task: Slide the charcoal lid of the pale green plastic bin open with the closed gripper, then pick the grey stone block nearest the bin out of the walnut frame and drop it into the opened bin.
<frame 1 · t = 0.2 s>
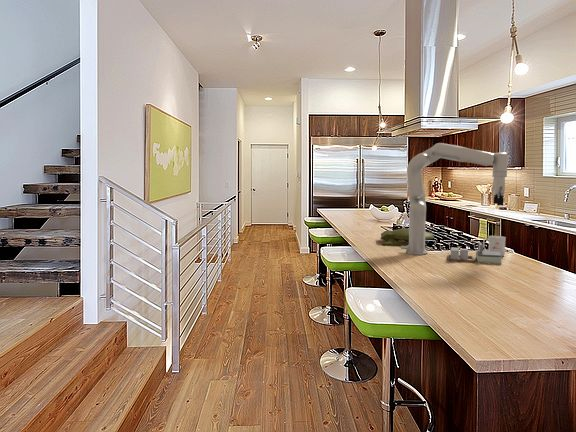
hand: (498, 204, 279), 31 cm above the table, tool pointing down, fingers open, 9 cm apart
tray: (460, 259, 276), on the table
bin: (488, 260, 272), on the table
bin lid: (488, 249, 271), point 7 cm above the table, slide at 0.0 cm
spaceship: (406, 243, 333), on the table
stone c: (454, 258, 279), resting in tray
stone a: (463, 259, 275), resting in tray
stone b: (454, 260, 274), resting in tray
mug: (493, 255, 288), on the table
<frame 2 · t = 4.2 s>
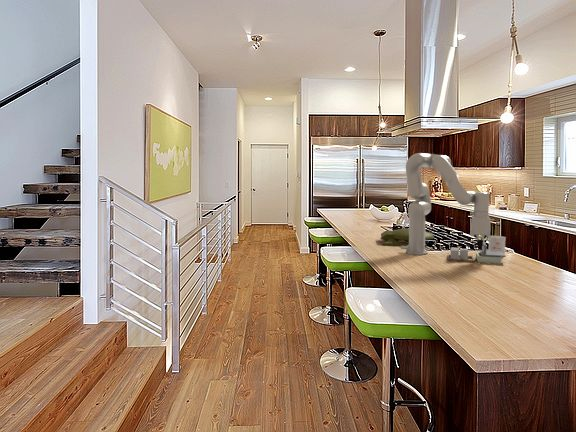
hand: (479, 246, 272), 8 cm above the table, tool pointing down, fingers closed
bin lid: (492, 249, 270), point 7 cm above the table, slide at 2.0 cm, touching gripper
everything else where it was.
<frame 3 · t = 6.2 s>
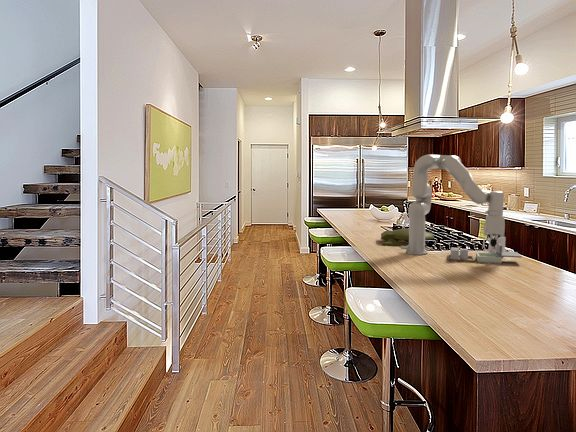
hand: (493, 246, 270), 8 cm above the table, tool pointing down, fingers closed
bin lid: (507, 249, 268), point 7 cm above the table, slide at 9.8 cm
everything else where it was.
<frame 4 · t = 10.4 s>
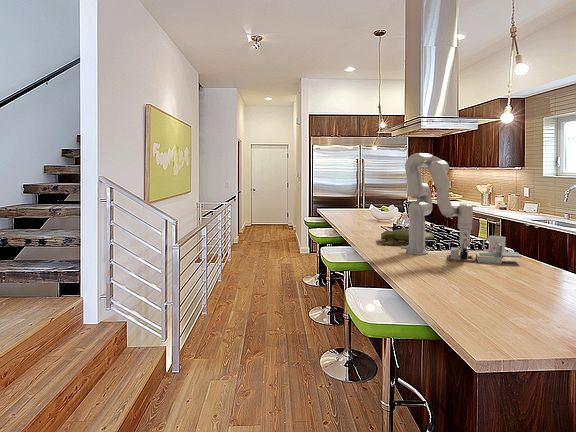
hand: (463, 258, 275), 1 cm above the table, tool pointing down, fingers closed on stone a, 3 cm apart
stone a: (463, 259, 275), resting in tray, touching gripper
everything else where it was.
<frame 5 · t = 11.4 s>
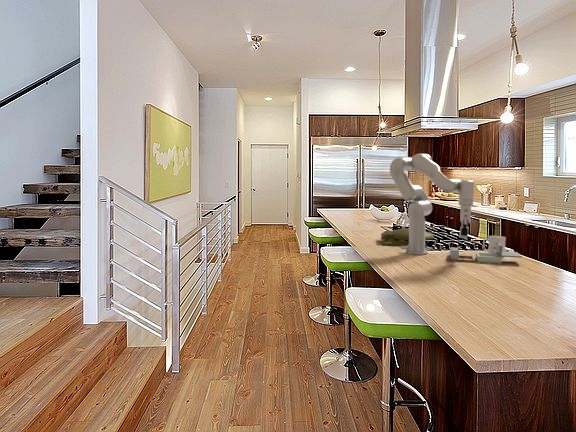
hand: (463, 234, 274), 14 cm above the table, tool pointing down, fingers closed on stone a, 3 cm apart
stone a: (463, 237, 274), point 13 cm above the table, tilted 7°, touching gripper
everything else where it was.
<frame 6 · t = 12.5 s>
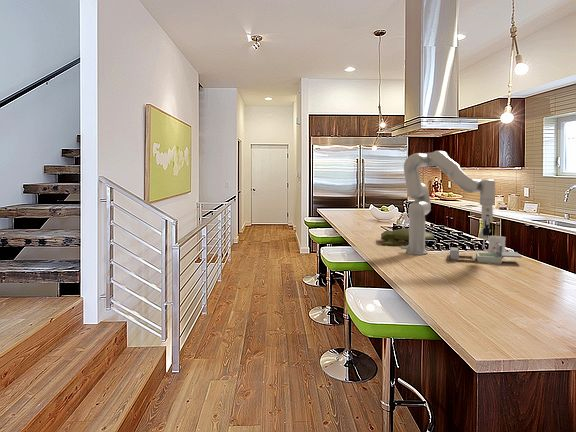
hand: (485, 234, 271), 15 cm above the table, tool pointing down, fingers closed on stone a, 3 cm apart
stone a: (481, 237, 271), point 13 cm above the table, tilted 27°, touching gripper
everything else where it was.
when the fingers open (4 cm above the table, at t = 14.7 s): stone a stays where it is and tips over, resting on bin.
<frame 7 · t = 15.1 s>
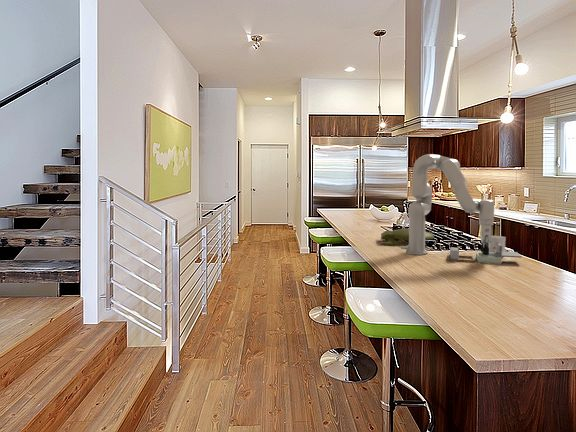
hand: (484, 253, 272), 4 cm above the table, tool pointing down, fingers open, 7 cm apart
stone a: (481, 255, 272), point 3 cm above the table, tilted 90°, touching bin
everything else where it was.
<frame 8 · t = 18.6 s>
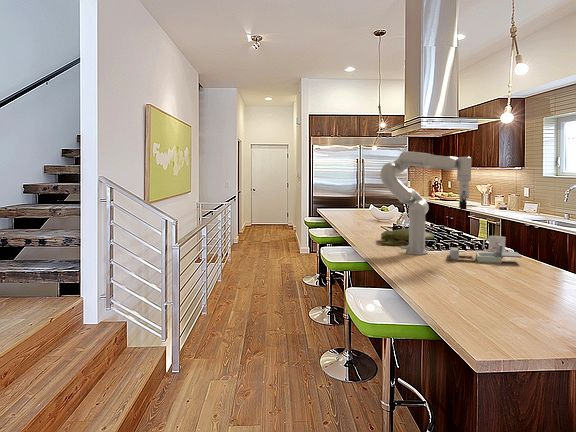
hand: (462, 208, 280), 28 cm above the table, tool pointing down, fingers open, 9 cm apart
nothing on the table moved.
at the end: bin lid slide at 9.8 cm; stone a inside the target area on the bin (3.4 cm from its centre), point 2.8 cm above the bin's base; the gripper is holding nothing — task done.
